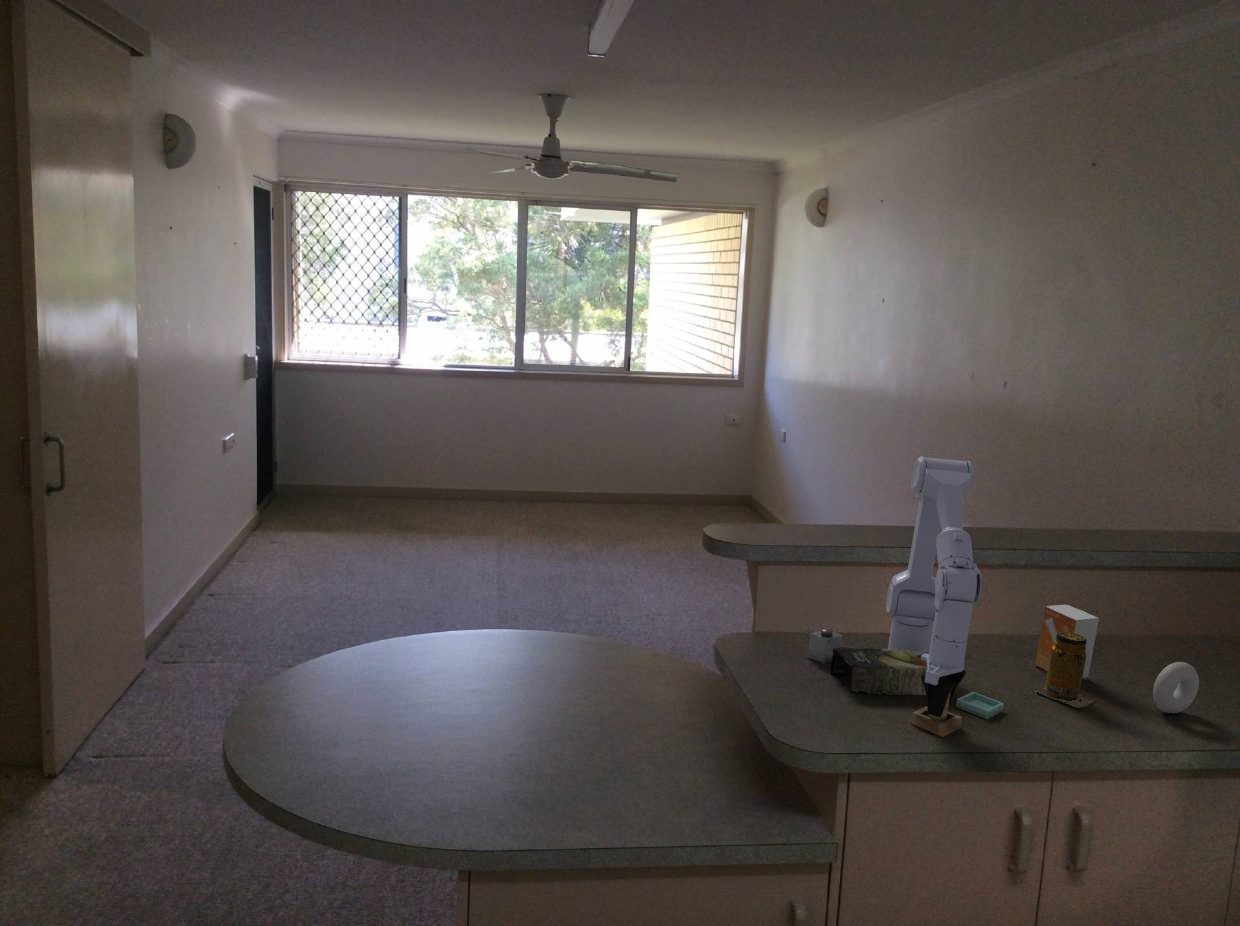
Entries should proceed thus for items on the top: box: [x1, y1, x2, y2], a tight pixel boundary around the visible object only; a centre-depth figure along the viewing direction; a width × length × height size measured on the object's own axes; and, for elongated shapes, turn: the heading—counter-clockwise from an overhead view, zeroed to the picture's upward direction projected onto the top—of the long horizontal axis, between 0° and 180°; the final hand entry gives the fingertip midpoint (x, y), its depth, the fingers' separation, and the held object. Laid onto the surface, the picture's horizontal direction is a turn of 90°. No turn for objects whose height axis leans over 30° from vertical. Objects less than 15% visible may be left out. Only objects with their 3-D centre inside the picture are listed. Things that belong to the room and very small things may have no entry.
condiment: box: [1035, 632, 1087, 701], centre depth 187 cm, size 7×8×12 cm
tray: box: [955, 691, 1005, 720], centre depth 180 cm, size 6×6×2 cm
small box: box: [1034, 604, 1100, 678], centre depth 200 cm, size 8×6×13 cm
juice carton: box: [830, 647, 929, 696], centre depth 187 cm, size 20×10×6 cm, turn 99°
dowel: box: [928, 694, 950, 723], centre depth 171 cm, size 3×3×8 cm
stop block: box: [806, 627, 843, 665], centre depth 197 cm, size 5×4×6 cm
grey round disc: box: [1152, 661, 1200, 714], centre depth 185 cm, size 10×3×10 cm, turn 115°
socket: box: [910, 705, 963, 738], centre depth 171 cm, size 6×6×2 cm
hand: (938, 711), depth 171 cm, fingers closed on dowel, 3 cm apart
